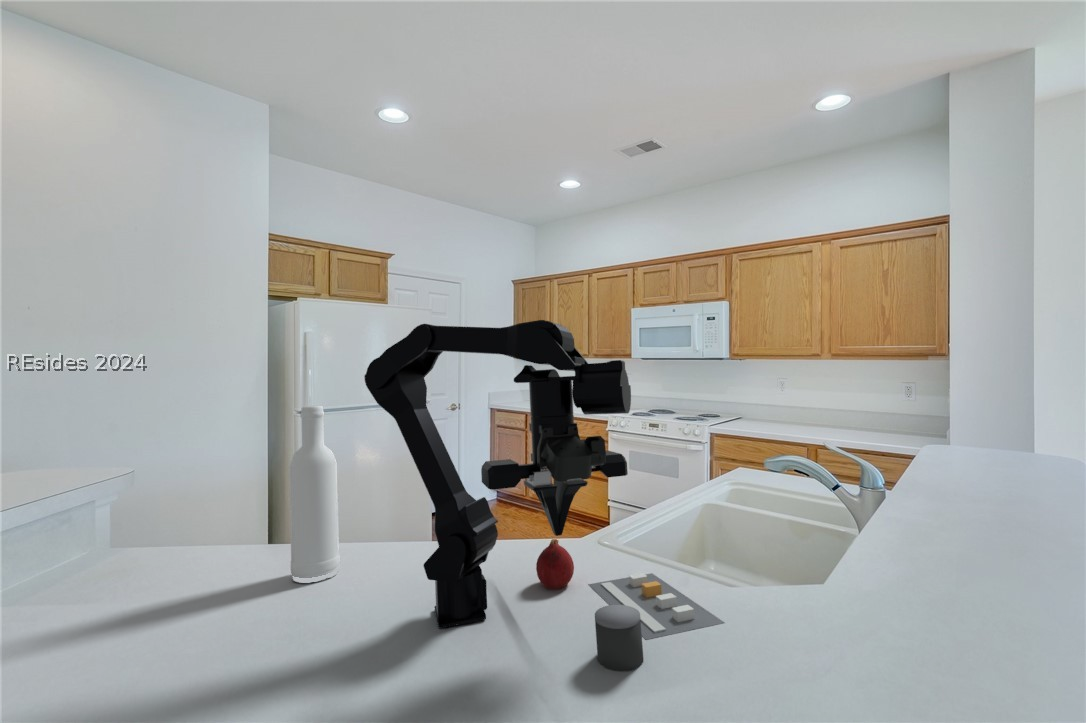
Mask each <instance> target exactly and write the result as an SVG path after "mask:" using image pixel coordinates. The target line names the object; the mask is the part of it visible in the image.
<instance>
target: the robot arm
mask: <svg viewBox="0 0 1086 723" xmlns="http://www.w3.org/2000/svg"><path fill="white" fill-rule="evenodd" d="M443 352H449V353H453V352H454V353H464V354H465V353H466V354H467V353H470V354H471V353H472V354H487V355H501V356H502V355H503V356H506V357H509V358H514V359H517V360H520V361H524V362H529V363H533V364H536V365H537V364H538V365H545V366H551V367H553V368H551V369H535V367H534V366H533V365H531V364H530V365H529V364H526V365H524V366H523V368H522V370H521V371H520V372H519V373H518V374H517V375H516V376H514V378H513V382H514V383H515V384H525V383H526V384H527V383H528V384H529V385H528V386H529V408H530V410H529V411H530V423H529V432H531V452H532V453H530V461H531V463H525V464H524V463H523V464H522V463H521V464H519V463H518V462H517V461H514V460H513V459H511V458H510V459H508V458H507V459H498V460H497V459H495V460H485V462H484V463H483V464H482V465H481V471H480V472H481V483H482V484H483V485H484V486H485V487H486V488H487V489H488V490H493V491H494V490H502V489H503V490H504V489H511V488H516V487H517V485H518V484H519V483H520V482H521V480H523V485H524V486H526V487H527V488H529V489H530V490H532V491H533V492H534V493H535V495H536V497H537V499H538V501H539V502H540V504H541V506H542V509H543V512H544V514H545V515H546V518H547V521H548V523H549V526H550V529H551V531H552V533H553V535H554V536H556V537H558V536H562V535H563V532H564V529H565V525H566V523H567V522H566V521H567V519H568V515H569V512H570V509H571V505H572V503H573V501H574V498H575V495H576V494H577V493H578V491H579V490H580V489H581V488H582V487H587V485H588V483H589V482H588V481H587V480H588V479H590V478H591V477H592V473H595V472H600V473H602V475H604V477H606V478H616V477H625V476H628V462H627V459H626V457H625V456H624V455H623V454H622V453H619V452H616V451H615V452H614V451H611V450H606V440H605V439H604V438H603V437H602V436H601V435H595V436H594V435H593V436H587V437H586V438H584V439H583V438H582V439H581V437H580V435H579V427H578V423H577V422H575V420H574V419H575V418H574V417H575V416H574V406H575V407H576V408H577V409H581V412H582V414H584V415H585V416H586V415H615V414H616V415H619V414H621V415H622V414H624V415H626V414H628V415H629V413H630V411H631V406H632V405H631V404H632V388H631V384H629V377H628V373H627V370H626V361H624V360H623V359H617V360H609V361H606V362H595V363H594V362H593V363H589V362H588V361H587V360H586V359H585V358H584V356H583V355H582V353H580V352H579V350H578V349H577V347H576V346H575V338H574V336H573V333H572V332H571V331H570V330H569V329H568V328H567V327H566V326H564V325H562V324H559V323H555V322H553V321H550V320H545V319H538V320H532V321H531V320H530V321H526V322H521V323H520V322H519V323H516V324H513V325H510V326H504V327H486V326H485V327H483V326H478V327H477V326H454V325H451V326H450V325H434V324H430V323H429V324H428V323H422V324H420V325H419V324H418V325H417V326H415V327H414V328H413V329H412V330H411V331H410V332H409V334H408V335H406V336H405V337H403V338H402V339H400V340H399V341H397V342H396V343H394V344H392V345H391V346H390V347H388V348H387V349H385V350H384V351H383V352H382V354H380V356H378V357H377V358H374V359H373V360H372V361H371V362H370V363H369V365H368V366H367V368H366V373H365V374H364V375H363V376H364V383H365V386H366V389H367V390H368V391H369V392H370V394H371V396H372V397H373V400H375V402H376V404H377V405H379V406H380V407H381V408H382V409H383V410H384V411H385V412H386V413H388V415H390V416H391V417H392V418H394V420H395V422H396V425H397V427H398V428H399V431H400V433H401V436H402V437H403V440H404V442H405V444H406V447H407V449H408V451H409V453H410V455H411V458H412V460H413V462H414V464H415V466H416V469H417V470H418V473H419V476H420V477H421V480H422V482H423V484H424V486H425V489H426V491H427V493H428V495H429V497H430V499H431V501H432V504H433V506H434V535H435V538H436V541H437V546H438V547H437V548H436V550H435V551H434V552H433V553H432V554H431V555H430V556H429V557H428V559H427V560H426V561H425V562H424V563H423V568H424V572H425V575H426V578H427V580H428V581H434V583H435V584H434V586H435V605H434V606H433V608H435V609H434V613H436V615H435V619H436V618H437V619H436V623H438V624H437V628H439V627H443V628H446V627H445V626H449V627H453V626H452V625H454V626H457V625H456V624H460V625H464V624H470V623H476V622H481V621H484V620H487V614H486V612H485V611H486V610H488V599H487V598H488V597H487V596H488V595H487V589H488V588H487V579H486V577H485V575H484V574H483V570H482V568H481V566H480V565H482V564H483V563H485V562H487V559H488V557H489V556H488V555H489V552H491V550H493V549H494V547H495V545H496V543H497V538H498V537H499V534H498V533H499V532H498V528H497V525H496V524H498V522H499V520H498V519H497V518H496V517H495V516H494V514H493V512H492V510H491V508H490V504H489V501H488V500H487V498H486V496H485V497H484V496H483V497H481V498H478V499H477V500H476V499H475V498H474V497H473V496H472V495H470V493H468V492H467V490H466V488H465V486H464V484H463V482H462V480H461V478H460V474H458V471H457V469H456V466H455V465H454V463H453V460H452V458H451V456H450V454H449V452H448V450H447V448H446V445H445V443H444V442H443V439H442V437H441V435H440V433H439V431H438V429H437V426H436V424H435V422H434V420H433V418H432V416H431V413H430V411H429V409H428V407H427V392H428V386H427V384H426V379H425V377H426V376H427V375H429V373H430V372H431V371H432V370H433V368H434V366H435V365H436V362H437V360H438V359H439V356H440V355H441V354H442V353H443ZM554 368H555V369H554ZM557 370H558V371H568V372H574V375H568V376H561V375H560V374H559V372H558V371H557ZM524 479H525V480H524ZM552 479H553V483H552Z"/></svg>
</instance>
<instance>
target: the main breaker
mask: <svg viewBox="0 0 1086 723" xmlns="http://www.w3.org/2000/svg"><path fill="white" fill-rule="evenodd" d="M642 594H643V595H644V596H646V597H652V596H657V595H662V589H661V584H660V583H658V582H657V581H654V582H649V583H643V584H642Z"/></svg>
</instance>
